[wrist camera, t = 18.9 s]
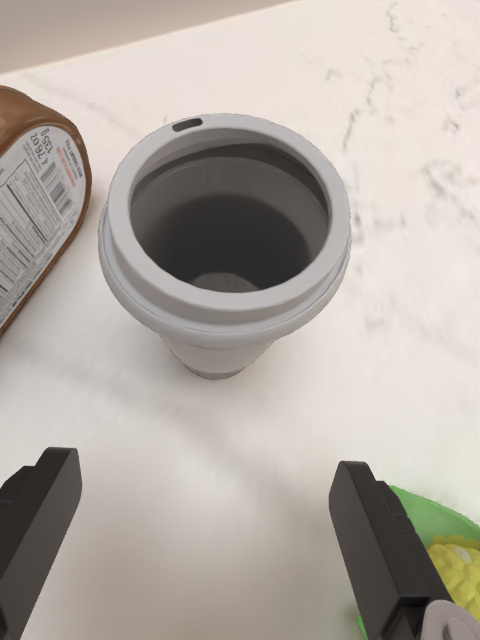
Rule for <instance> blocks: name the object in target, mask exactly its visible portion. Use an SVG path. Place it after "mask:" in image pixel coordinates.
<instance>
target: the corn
mask: <svg viewBox="0 0 480 640" xmlns="http://www.w3.org/2000/svg"><path fill="white" fill-rule="evenodd" d="M389 487H390V488H391V489H392V490H393V492H394V493H395V494H396V495H397V496H398V497H399V499H400V501H401V503H402V505H403V507H404V509H405V511H406V512H407V514H408V515H407V516H408V518H410V520H411V522H412V524H413V526H414V528H415V532H416V533H418V535H419V537H420V539H421V541H422V543H423V545H424V547H425V549H426V551H427V553H428V554H429V556H430V558H431V560H432V562H433V564H434V566H435V568H436V570H437V572H438V573H439V575H440V577H441V579H442V581H443V583H444V585H445V587H446V589H447V591H448V593H449V594H450V596H451V598H452V599H453V601H454V602H455V603H456V604H457V605H459V606H460V607H462V608H463V609H465V610H466V611H468V612H469V613H470V614H471V615H472V616H473V617H474V618H475V619H476V620H477V621H478V622H479V623H480V527H479V526H477V525H476V524H475V523H473V522H472V521H471V520H469V519H468V518H466V517H465V516H463V515H461V514H459V513H457V512H455V511H453V510H451V509H449V508H447V507H445V506H443V505H441V504H438V503H436V502H433V501H431V500H429V499H426V498H423V497H420V496H417V495H414V494H411V493H408V492H406V491H404V490H402V489H400V488H397V487H395V486H389ZM357 624H358V626H359V628H360V630H361V633H362V635H363V637H364V640H368V638H367V635H366V631H365V628H364V625H363V621H362V618H361V615H359V616H358V618H357Z"/></svg>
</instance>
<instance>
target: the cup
mask: <svg viewBox="0 0 480 640" xmlns="http://www.w3.org/2000/svg"><path fill="white" fill-rule="evenodd" d="M350 218H351V216H350V207H349V199H348V196H347V193H346V190H345V187H344V184H343V182H342V180H341V178H340V176H339V175H338V173H337V171H336V170H335V168H334V166H333V165H332V163H331V162H330V161H329V160H328V159H327V158H326V157H325V155H324V154H323V153H322V152H321V151H320V150H319V149H318V148H317V147H315V146H314V145H313V144H312V143H310V142H309V141H308V140H307V139H305V138H304V137H302V136H301V135H299V134H297V133H296V132H294V131H292V130H290V129H289V128H286V127H284V126H281V125H279V124H276V123H274V122H271V121H269V120H266V119H261V118H257V117H252V116H248V115H239V114H228V113H222V114H204V115H199V116H194V117H189V118H184V119H181V120H179V121H176V122H173V123H171V124H168V125H165V126H163V127H161V128H160V129H158V130H156V131H155V132H153V133H151V134H149V135H148V136H146V137H145V138H144V139H143V140H141V141H140V142H139V143H138V144H137V145H136V146H134V147H133V148H132V149H131V150H130V152H129V153H128V154H127V155H126V157H125V158H124V159H123V161H122V162H121V163H120V164H119V166H118V168H117V171H116V173H115V175H114V177H113V179H112V182H111V184H110V189H109V193H108V199H107V201H106V203H105V205H104V208H103V210H102V213H101V217H100V221H99V228H98V250H99V259H100V264H101V268H102V271H103V274H104V277H105V279H106V282H107V284H108V286H109V287H110V289H111V291H112V293H113V294H114V296H115V297H116V299H117V300H118V301H119V302H120V304H121V305H122V306H123V307H124V308H125V309H126V310H127V311H128V312H129V313H130V314H131V315H132V316H133V317H134V318H135V319H137V320H138V321H139V322H141V323H142V324H143V325H145V326H146V327H148V328H150V329H151V330H153V331H155V332H156V333H158V334H159V335H160V337H161V338H162V339H163V341H164V342H165V343H166V345H167V346H168V347H169V349H170V350H171V351H172V353H173V354H174V355H175V356H176V357H177V358H178V359H179V360H181V361H182V362H183V363H184V365H185V366H186V367H187V368H188V369H189V370H191V371H192V372H193V373H195V374H197V375H199V376H201V377H204V378H208V379H224V378H228V377H231V376H233V375H235V374H237V373H239V372H240V371H241V370H243V369H244V368H245V367H246V366H247V365H249V364H250V363H252V362H253V361H254V360H255V359H257V358H258V357H259V356H260V355H261V354H262V353H263V352H264V351H265V350H266V349H267V348H268V347H269V346H270V345H271V344H272V343H273V342H274V341H275V340H276V339H279V338H281V337H283V336H286V335H288V334H290V333H292V332H294V331H295V330H297V329H299V328H300V327H302V326H303V325H305V324H306V323H308V322H309V321H311V320H312V319H313V318H314V317H315V316H316V315H317V314H319V313H320V312H321V311H322V310H323V309H324V307H325V306H326V305H327V304H328V303H329V302H330V300H331V299H332V298H333V296H334V295H335V293H336V291H337V290H338V288H339V286H340V284H341V282H342V280H343V277H344V275H345V272H346V268H347V265H348V262H349V257H350V249H351V241H352V235H351V224H350Z"/></svg>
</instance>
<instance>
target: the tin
mask: <svg viewBox="0 0 480 640" xmlns="http://www.w3.org/2000/svg"><path fill="white" fill-rule="evenodd" d="M91 187H92V173H91V168H90V164H89V159H88V155H87V150H86V147H85V144H84V142H83V139H82V137H81V135H80V133H79V131H78V129H77V127H76V126H75V125H74V124H73V123H72V122H71V121H70V120H69V119H67V118H66V117H65V116H63V115H62V114H60V113H58V112H56V111H55V110H53V109H51V108H49V107H47V106H45V105H42V104H40V103H38V102H36V101H34V100H33V99H31V98H30V97H29V96H27V95H26V94H24V93H22V92H20V91H18V90H16V89H14V88H11V87H7V86H2V85H0V335H1V334H2V332H3V331H4V330H5V329H6V327H7V326H8V325H9V323H10V322H11V321H12V319H13V318H14V317H15V315H16V314H17V313H18V311H19V310H20V309H21V307H22V306H23V305H24V303H25V302H26V301H27V299H28V298H29V297H30V296H31V294H32V293H33V292H34V290H35V289H36V288H37V286H38V285H39V284H40V282H41V281H42V280H43V278H44V277H45V276H46V274H47V273H48V272H49V270H50V269H51V268H52V266H53V265H54V264H55V262H56V261H57V260H58V258H59V257H60V256H61V254H62V253H63V252H64V250H65V249H66V248H67V246H68V245H69V243H70V242H71V241H72V239H73V238H74V236H75V235H76V233H77V231H78V230H79V228H80V226H81V224H82V221H83V219H84V216H85V214H86V211H87V208H88V204H89V200H90V195H91Z"/></svg>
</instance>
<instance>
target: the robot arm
mask: <svg viewBox="0 0 480 640" xmlns="http://www.w3.org/2000/svg"><path fill="white" fill-rule="evenodd" d="M81 492H82V478H81V471H80V464H79V456H78V451H77V449H76V448H61V447H48V448H47V449H46V450H45V451H44V452H43V454H42V455H41V457H40V458H39V460H38V462H37V463H36V465H35V466H23V467H22V468H21V469H20V470H19V471H17V472H16V473H15V474H14V475H12V476H11V477H10V478H9V479H8V480H6V481H5V483H4V484H3V486H2V487H1V488H0V640H20V638H21V636H22V633H23V631H24V629H25V626H26V624H27V622H28V619H29V617H30V615H31V613H32V610H33V608H34V606H35V603H36V601H37V599H38V596H39V594H40V592H41V590H42V587H43V585H44V583H45V580H46V578H47V576H48V573H49V571H50V569H51V567H52V564H53V562H54V560H55V557H56V555H57V553H58V550H59V548H60V546H61V544H62V541H63V539H64V537H65V534H66V532H67V530H68V527H69V525H70V523H71V521H72V518H73V516H74V514H75V511H76V509H77V507H78V504H79V501H80V497H81ZM329 511H330V515H331V519H332V522H333V525H334V529H335V532H336V535H337V539H338V542H339V545H340V548H341V552H342V555H343V558H344V562H345V565H346V568H347V572H348V575H349V578H350V582H351V585H352V588H353V592H354V595H355V598H356V601H357V605H358V608H359V611H360V615H361V618H362V621H363V625H364V628H365V631H366V635H367V638H368V640H480V623H479V622H478V621H477V620H476V619H475V618H474V617H473V616H472V615H471V614H470V613H469V612H468V611H466V610H465V609H463V608H462V607H460V606H459V605H457V604H456V603H455V602H454V601H453V599H452V598H451V596H450V594H449V593H448V591H447V589H446V587H445V585H444V583H443V581H442V579H441V577H440V575H439V573H438V572H437V570H436V568H435V566H434V564H433V562H432V560H431V558H430V556H429V554H428V553H427V551H426V549H425V547H424V545H423V543H422V541H421V539H420V537H419V535H418V533H416V532H415V528H414V526H413V524H412V522H411V520H410V518H408V516H407V515H408V514H407V512H406V511H405V509H404V507H403V505H402V503H401V501H400V499H399V497H398V496H397V495H396V494H395V493H394V492H393V490H392V489H391V488H390V487H389V486H388V485H387V484H386V483H385V482H384V481H376V480H375V478H374V476H373V474H372V472H371V470H370V468H369V466H368V464H367V463H366V462H358V461H340V462H339V464H338V467H337V470H336V473H335V477H334V480H333V483H332V486H331V489H330V493H329Z"/></svg>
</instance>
